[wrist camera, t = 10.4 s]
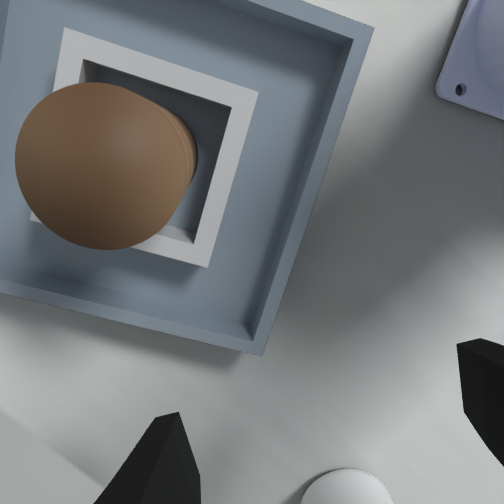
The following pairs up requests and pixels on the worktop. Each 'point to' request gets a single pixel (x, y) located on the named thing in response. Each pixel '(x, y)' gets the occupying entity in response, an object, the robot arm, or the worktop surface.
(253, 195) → the candle dish
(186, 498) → the robot arm
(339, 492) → the drinking glass
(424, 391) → the worktop surface
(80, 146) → the walnut peg
